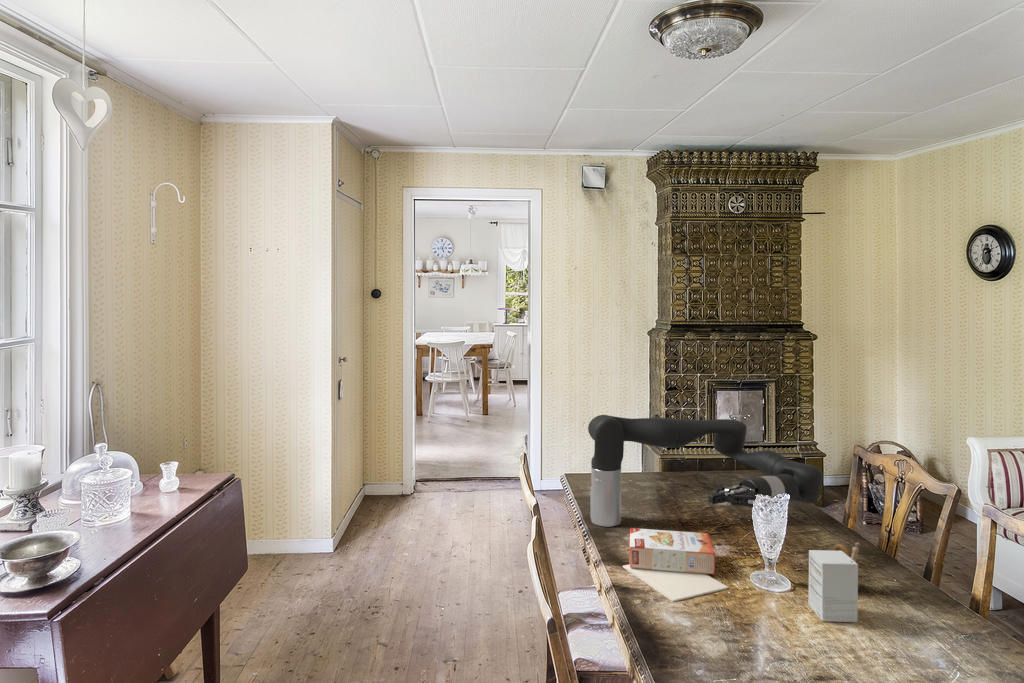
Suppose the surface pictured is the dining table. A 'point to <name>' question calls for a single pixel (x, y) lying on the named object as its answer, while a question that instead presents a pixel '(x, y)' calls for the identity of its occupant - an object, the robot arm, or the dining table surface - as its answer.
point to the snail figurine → (847, 550)
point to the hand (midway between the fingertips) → (710, 499)
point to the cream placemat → (677, 582)
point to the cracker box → (671, 551)
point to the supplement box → (833, 586)
